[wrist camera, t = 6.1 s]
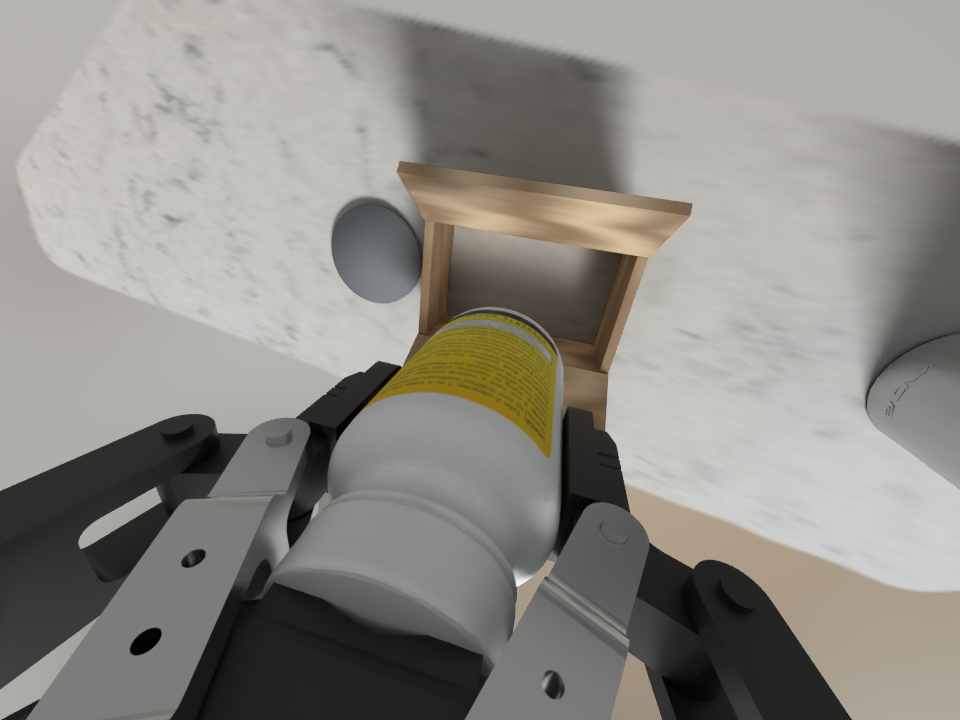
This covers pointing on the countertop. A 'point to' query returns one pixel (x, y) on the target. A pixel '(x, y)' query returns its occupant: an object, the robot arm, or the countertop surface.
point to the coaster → (376, 253)
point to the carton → (546, 217)
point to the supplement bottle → (444, 489)
